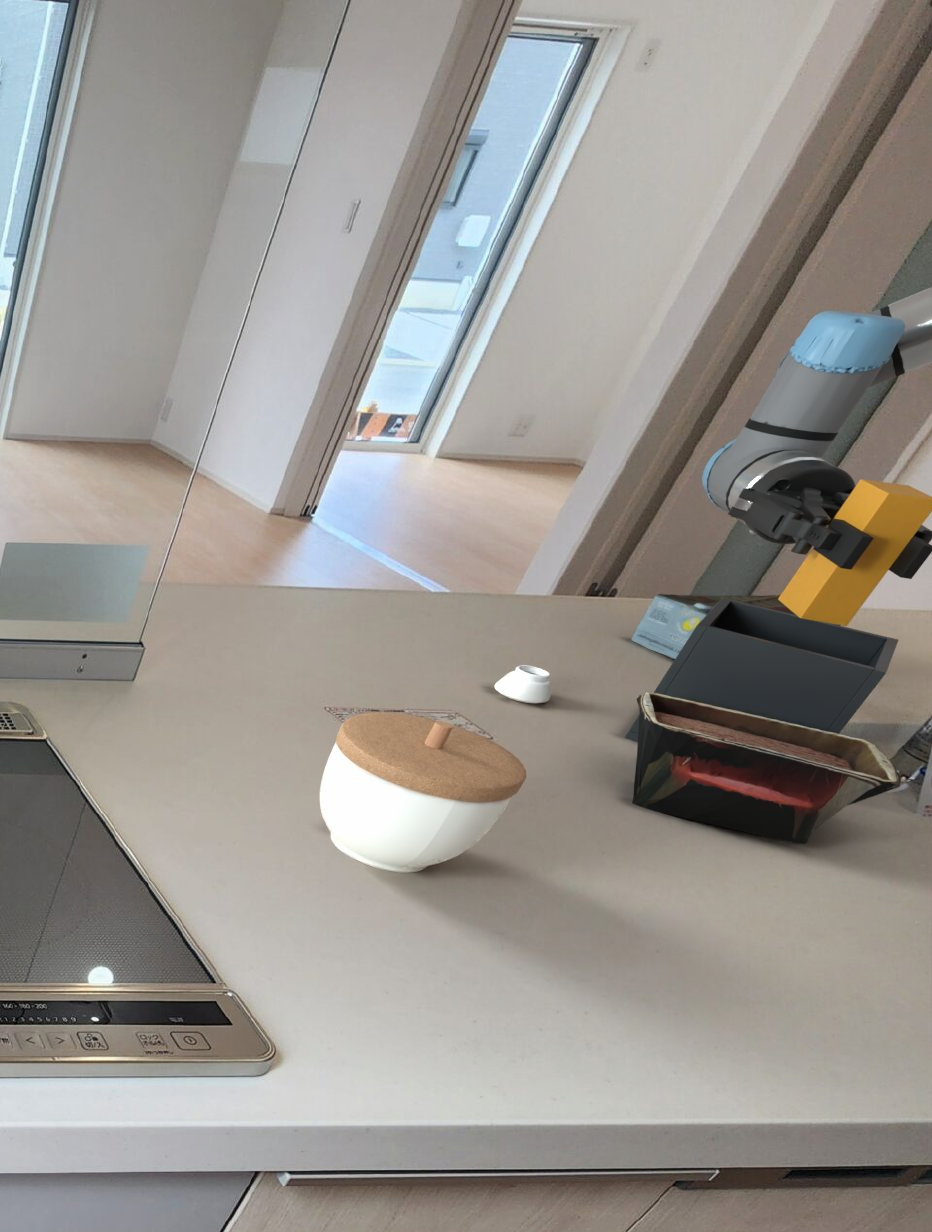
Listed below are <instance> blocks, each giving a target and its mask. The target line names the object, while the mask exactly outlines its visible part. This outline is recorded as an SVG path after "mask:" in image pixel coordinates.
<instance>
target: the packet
mask: <svg viewBox="0 0 932 1232" xmlns="http://www.w3.org/2000/svg"><path fill="white" fill-rule="evenodd" d="M855 485H856V487H855V488H854V490H853V491H852V493H851V494H850V495H849V497H848V498H847V500H846V501H845V503H844V504H843V506H842V507H841V508H840V510H839V511H838V513H837V514H836V516H835V517H834V519H839V520H844V521H846V522H848V523H849V524H851V525H853V526H854V527H856V528H858V529H859V530H861V531H863V532H865V533H866V534H868V535H870V536H871V537H873V538H874V539H873V540H872V542H871V543H870V544H869V546H868V547H867V548H866V550H865V551H864V553H863V554H862V555H861V557H860V558H859V560H858V561H857V562H856V564H855V565H854V567H853V568H852V569H851V570H850V569H844V568H840V567H839V566H837V565H836V564H834V563H833V562H831V561H830V560H828V559H827V558H826V557H824V556H823V555H821V554H820V553H818V552H817V551H815V550H814V547H812V548H811V551H809V552H808V554H807V556H806V557H805V559H804V561H803V562H802V563H801V565H800V566H799V568H798V569H797V570H796V572H795V574H794V575H793V576H792V578H791V579H790V581H789V582H788V583H787V585H786V587H785V588H784V590H783V591H782V593H781V594H779V595H780V597H779V598H778V600H779V601H780V602H782V603H783V604H784V605H785V606H786V607H787V608H789V609H790V610H791V611H792V612H793V613H795V614H796V615H797V616H798V617H799V618H801V619H807V620H813V621H819V622H825V623H831V624H836V625H841V626H844V627H848V625H849V624H850V623H851V621H852V620H853V618H854V617H855V616H856V615H857V613H858V612H859V610H860V609H861V608H862V606H863V605H864V603H865V602H866V601H867V599H868V598H869V597H870V596H871V594H872V593H873V591H874V590H875V589H876V587H877V586H878V585H879V584H880V582H881V581H882V579H883V578H884V576H885V575H886V574H887V573H888V571H889V570H888V569H889V568H890V567H891V565H892V564H893V563H894V561H895V560H896V559H897V557H898V556H899V555H900V553H901V552H902V551H903V549H904V548H905V547H906V545H907V544H908V542H909V541H910V540H911V538H912V537H913V536H914V535H915V533H916V532H917V531H918V529H919V528H920V527H921V525H923V524H924V523H925V521H926V520H927V519H928V517H929V516H930V514H931V513H932V495H929V494H927V493H925V492H923V491H921V490H919V489H917V488H914V487H913V486H911V485H907V484H899V483H894V482H887V481H886V482H885V481H879V480H871V479H864V478H861V479H859V481H858V482H857V484H855ZM834 519H833V520H834ZM833 520H832V521H833ZM831 523H832V522H831ZM831 523H830V524H831ZM830 524H829V525H830Z"/></svg>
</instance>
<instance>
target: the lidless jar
mask: <svg viewBox="0 0 932 1232" xmlns="http://www.w3.org/2000/svg"><path fill="white" fill-rule="evenodd" d="M550 677H551V673H550V672H549V671H548V670H545V669H544V668H540V667H538V666H533V665H529V664H527V665H526V664H520V665H517V666H516V667H515V670H511V671H509V672H508V673H507V674H505V675H504V676H503V677H502V678H501V679H499V680H498V681H496V682H495V684H494V689H495V691H497V692H498V693H499V694H500V695H502V696H503V697H505V698H508V699H510V700H513V701H515V702H516V701H517V702H519V703H525V704H543V703H547V702H548V701H550V698H551V696H552V694H551V691H552V690H551V689H552V688H551V686H552V685H551V681H550V680H549V679H550Z"/></svg>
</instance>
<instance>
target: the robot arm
mask: <svg viewBox="0 0 932 1232" xmlns="http://www.w3.org/2000/svg"><path fill="white" fill-rule="evenodd" d="M931 364H932V286H931V287H929V288H925V289H924V290H923V289H922V290H921V291H919V292H916V293H914V294H911V295H909V296H906V297H904V298H901V299H899V300H896V301H894V302H891V303H889V304H888V305H886V306H884V307H881V308H879V309H876V310H871V311H870V312H867V313H860V312H854V311H853V312H852V311H842V310H824V311H821V312H818V313H817V314H815V315H814V316H813V317H812V318H811V319H810V320H809V321H808V323H807V325H806V326H805V327H804V329H803V331H802V332H801V333H800V335H799V337H797V338H796V339H795V340H794V342H793V344H792V345H791V347H790V349H789V350H788V352H786V354H785V355H784V357H783V358H782V360H781V361H780V363H779V364H778V368H777V371H776V374H775V375H774V377H773V379H772V380H771V382H770V384H769V385H768V387H767V388H766V390H765V392H764V394H763V396H762V397H761V399H760V401H759V403H758V404H757V406H756V408H755V410H754V411H753V413H752V415H751V416H750V418H748V420H747V422H746V423H745V425H744V426H743V427H742V429H741V431H740V432H739V434H738V435H737V437H736V438H735V439H733V440H731V441H729V442H727V443H726V444H725V445H723V446H722V447H721V448H719V450H717V451H716V452H715V453H714V454H713V455H712V456H711V457H710V459H709V460H708V462H707V463H706V465H705V467H704V469H703V473H702V476H701V483H702V487H703V489H704V492H705V493H706V495H707V497H708V499H709V500H710V502H711V503H712V504H714V506H715V507H717V508H719V509H720V510H721V511H724V512H726V513H727V515H728V516H730V517H731V518H735V519H736V520H737V521H739V522H740V523H742V524H743V525H745V526H746V527H747V528H749V530H748V531H749V534H750V535H753V536H759V537H760V538H761V539H763V540H765V541H768V542H769V543H773V544H778V545H779V544H780V545H794V546H793V547H792V548H791V550H790V552H791V553H794V554H797V555H804V556H805V555H808V554H809V553H810V550H812V549H813V548H814V550H815V551H817V552H818V553H820V554H821V555H823V556H824V557H826V558H827V559H828V560H830V561H831V562H833V563H834V564H836V565H837V566H839V567H840V568H844V569H850V570H851V569H852V568H853V567H854V565H855V564H856V562H857V561H858V560H859V558H860V557H861V555H862V554H863V553H864V551H865V550H866V548H867V547H868V546H869V544H870V543H871V542H872V540H873V539H874V538H873V537H871V536H870V535H868V534H866V533H865V532H863V531H861V530H859V529H858V528H856V527H854V526H853V525H851V524H849V523H848V522H846V521H844V520H839V519H834V517H835V516H836V514H837V513H838V511H839V510H840V508H841V507H842V506H843V504H844V503H845V501H846V500H847V498H848V497H849V495H850V494H851V493H852V491H853V490H854V488H855V487H856V485H857V484H856V483H855V480H854V479H853V477H852V476H851V475H850V473H848V472H847V471H846V470H844V469H843V468H840V467H838V466H837V465H835V464H832V463H831V462H830V461H828V460H826V459H823V457H824V456H825V454H826V452H827V450H828V449H829V448H830V446H831V445H832V443H833V442H834V440H835V439H836V437H837V436H838V435H839V431H840V430H841V428H842V427H843V426H844V424H845V423H846V421H847V420H848V418H849V416H850V415H851V414H852V412H853V411H854V409H856V407H857V405H858V404H859V402H860V401H861V399H862V398H863V396H864V395H865V393H866V392H867V390H868V389H869V388H871V387H874V386H876V385H879V384H882V383H884V382H887V381H889V380H892V379H895V378H897V377H899V376H901V375H905V374H907V373H910V372H912V371H915V370H918V369H921V368H923V367H926V366H929V365H931ZM833 519H834V520H833ZM832 520H833V521H832ZM831 522H832V523H831ZM830 523H831V524H830ZM829 524H830V525H829ZM931 541H932V530H931V529H930V528H928V527H926V525H925V526H924V525H923V524H922V525H921V527H920V528H919V529H918V531H917V532H916V533H915V535H914V536H913V537H912V538H911V540H910V541H909V542H908V544H907V545H906V547H905V548H904V549H903V551H902V552H901V553H900V555H899V556H898V557H897V559H896V560H895V561H894V563H893V564H892V565H891V567H890V568H889V569H888V571H889V572H891V573H893V574H894V575H895V576H898V577H899V578H900V579H901V578H902V579H908V580H912V579H913V577H915V575H916V574H917V572H918V571H919V570H920V568H921V567H922V566H923V564H924V563H925V562H926V561H927V559H928V558H929V556H930V555H931V554H932V544H930V542H931Z"/></svg>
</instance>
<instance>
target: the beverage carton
mask: <svg viewBox="0 0 932 1232" xmlns="http://www.w3.org/2000/svg"><path fill="white" fill-rule="evenodd" d="M780 595H781V594H777V595H776V594H774V595H773V594H770V595H768V594H767V595H733V594H732V595H710V594H709V595H708V594H707V595H706V594H705V595H703V594H700V595H699V594H697V595H696V594H674V593H673V594H666V593H665V594H663V593H659V594H656V595H655V596H654V598H653V599H652V601H651V603H650V605H649V606H648V608H647V610H646V611H645V613H644V614H643V615H642V617H641V618H640V621H639V622H638V624H637V626H636V628H635V630H634V633H633V634H632V636H631V642H633V643H635V644H638V645H640V646H642V647H644V648H646V649H648V650H650V651H653V652H656V653H659V654H661V655H664V656H666V657H667V658H670V659H672V660H675V659H676V657H677V655H678V654H679V652H680V651H681V649H682V648H683V646H684V645H685V643H686V642H687V640H688V638H689V637H690V635H691V634H692V632H693V631H694V629H695V628H696V626H697V625H698V624H699V623H700V622H701V620H702V619H703V618H704V617H705V616H706V615H707V614H708V613H709V612H710V611H711V610H712V609H713V607H714V606H715V605H716V604H717V603H718V602H719V601H720V600H721V599H722V598H726V599H730V600H735V601H739V602H743V603H747V604H751V605H756V606H760V607H764V608H768V609H772V610H776V611H781V612H785V613H789V614H793V615H796V614H795V613H793V612H792V611H791V610H790V609H789V608H787V607H786V606H785V605H784V604H783V603H782V602H780V601H779V600H778V598H779V597H780ZM835 625H836V624H835ZM839 626H842V625H839Z"/></svg>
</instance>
